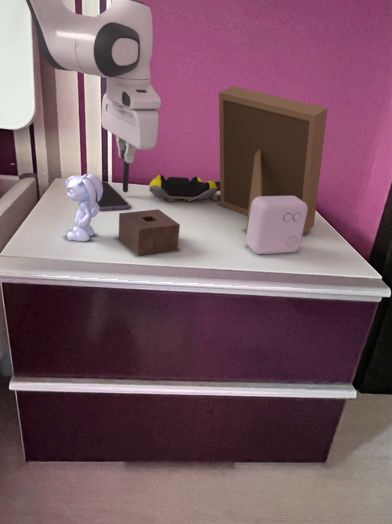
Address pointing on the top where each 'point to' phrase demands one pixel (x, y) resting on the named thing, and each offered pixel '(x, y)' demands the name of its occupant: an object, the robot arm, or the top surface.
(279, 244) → the electronic device
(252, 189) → the photo frame
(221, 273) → the top surface
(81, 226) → the toy figurine
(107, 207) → the smartphone
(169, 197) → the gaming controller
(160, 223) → the pen block
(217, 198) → the wristwatch
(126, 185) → the stylus
